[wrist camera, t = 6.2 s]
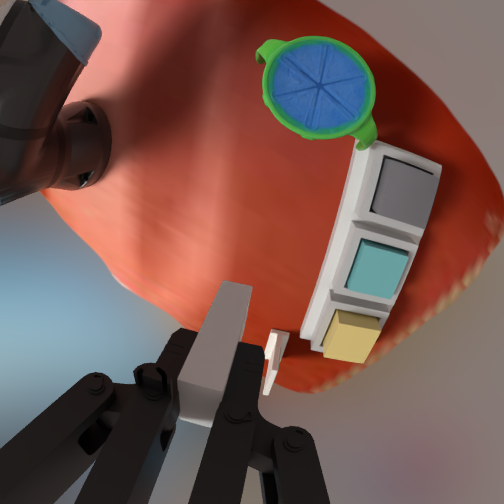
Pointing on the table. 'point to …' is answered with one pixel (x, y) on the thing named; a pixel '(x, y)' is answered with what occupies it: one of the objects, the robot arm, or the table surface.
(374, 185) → the board
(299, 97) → the snack cup
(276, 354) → the sign
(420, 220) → the charcoal button
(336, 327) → the mustard button
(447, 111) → the table surface
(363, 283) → the teal button
